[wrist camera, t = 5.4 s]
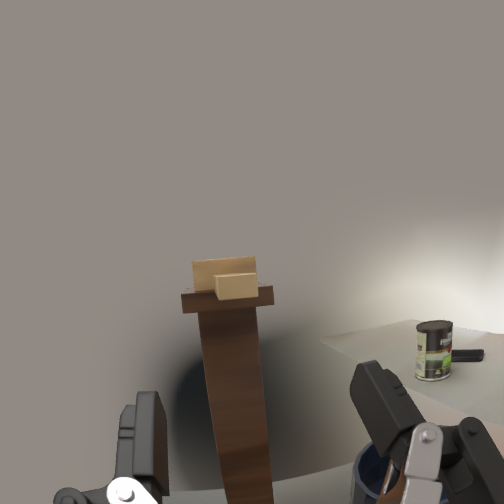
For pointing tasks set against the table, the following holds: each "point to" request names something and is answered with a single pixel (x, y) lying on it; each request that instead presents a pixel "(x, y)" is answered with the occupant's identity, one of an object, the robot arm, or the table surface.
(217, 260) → the t-shaped wooden block
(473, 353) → the phone
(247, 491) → the stand
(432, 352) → the coffee can
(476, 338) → the table surface
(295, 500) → the table surface
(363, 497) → the pot
